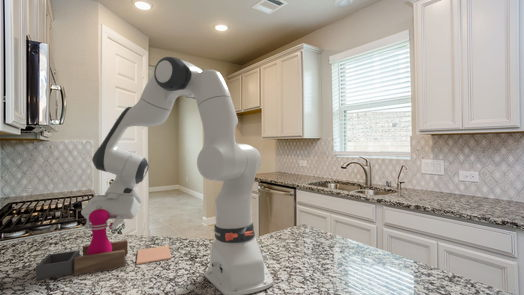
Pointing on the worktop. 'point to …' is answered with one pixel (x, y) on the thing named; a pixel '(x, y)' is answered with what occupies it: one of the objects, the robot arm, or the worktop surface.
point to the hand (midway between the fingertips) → (99, 228)
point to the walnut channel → (102, 258)
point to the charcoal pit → (56, 265)
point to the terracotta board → (153, 254)
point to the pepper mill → (99, 232)
